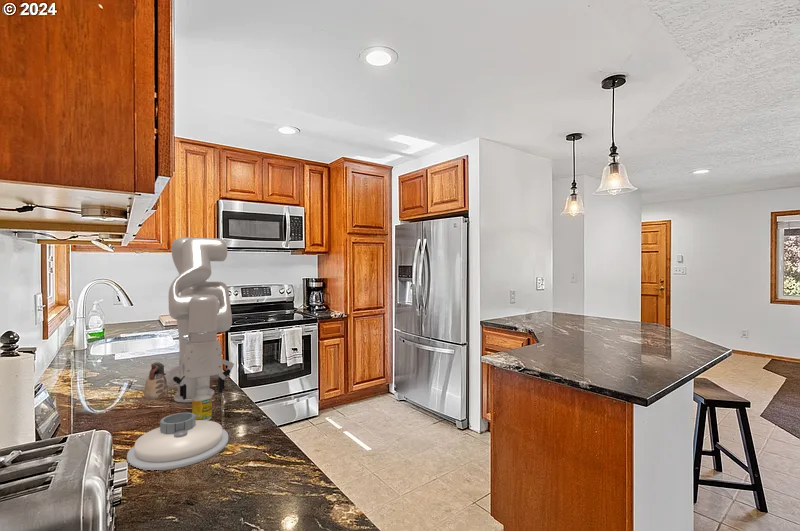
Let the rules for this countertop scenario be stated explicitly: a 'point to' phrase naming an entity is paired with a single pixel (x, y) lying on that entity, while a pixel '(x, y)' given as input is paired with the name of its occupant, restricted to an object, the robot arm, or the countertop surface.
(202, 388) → the supplement bottle
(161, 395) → the figurine
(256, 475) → the countertop surface
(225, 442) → the base
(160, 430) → the white round disc
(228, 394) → the countertop surface
